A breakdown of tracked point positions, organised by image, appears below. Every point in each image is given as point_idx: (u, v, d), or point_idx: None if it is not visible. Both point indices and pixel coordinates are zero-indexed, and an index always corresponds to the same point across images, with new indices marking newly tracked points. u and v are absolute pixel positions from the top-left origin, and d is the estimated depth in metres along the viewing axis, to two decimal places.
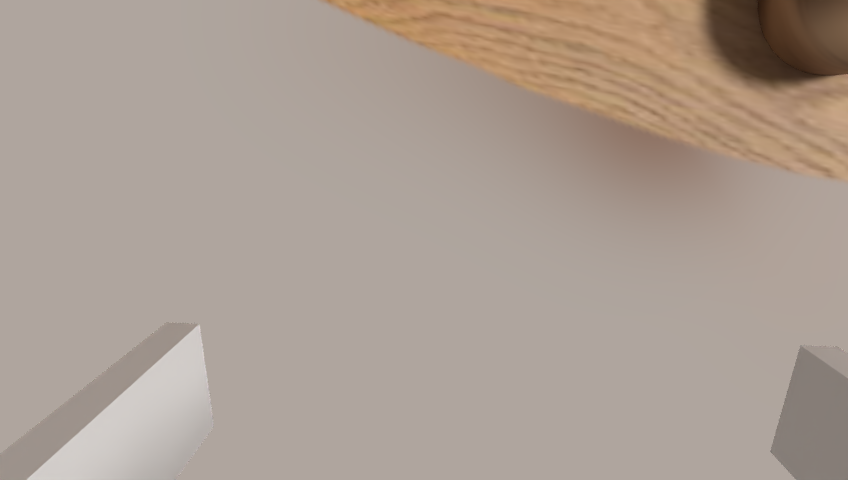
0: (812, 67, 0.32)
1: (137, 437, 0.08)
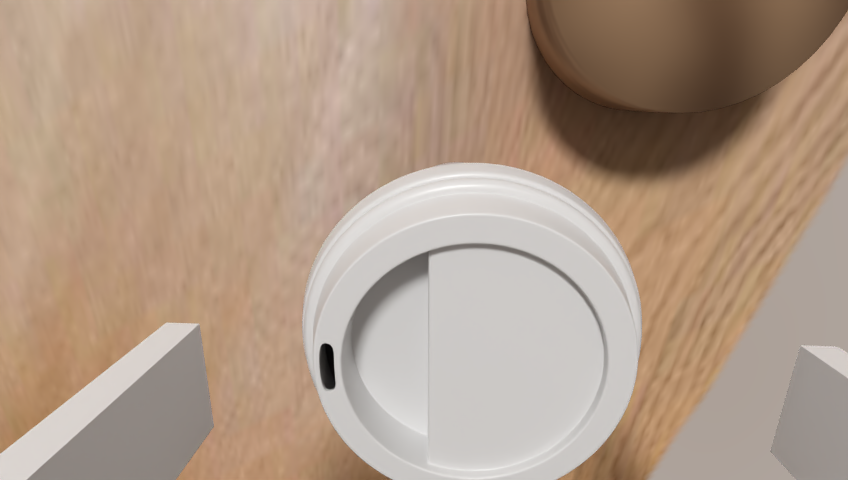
0: None
1: (137, 437, 0.08)
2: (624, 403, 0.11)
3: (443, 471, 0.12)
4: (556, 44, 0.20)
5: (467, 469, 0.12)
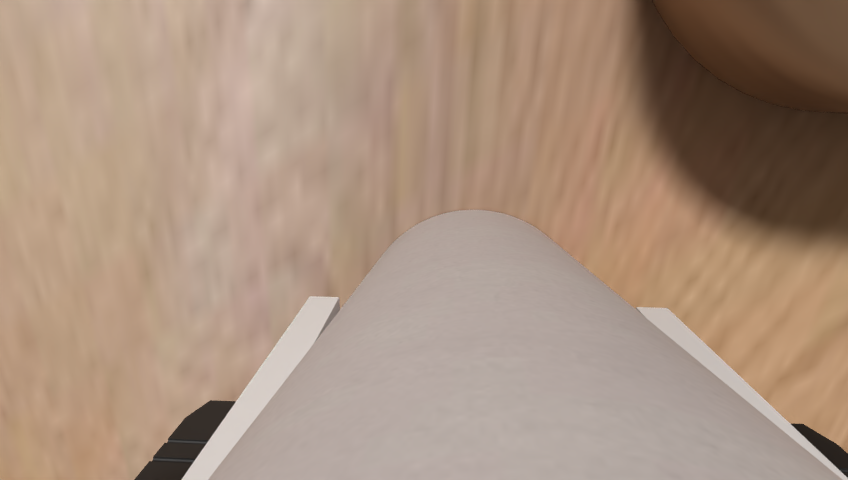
0: None
1: None
2: None
3: None
4: None
5: None
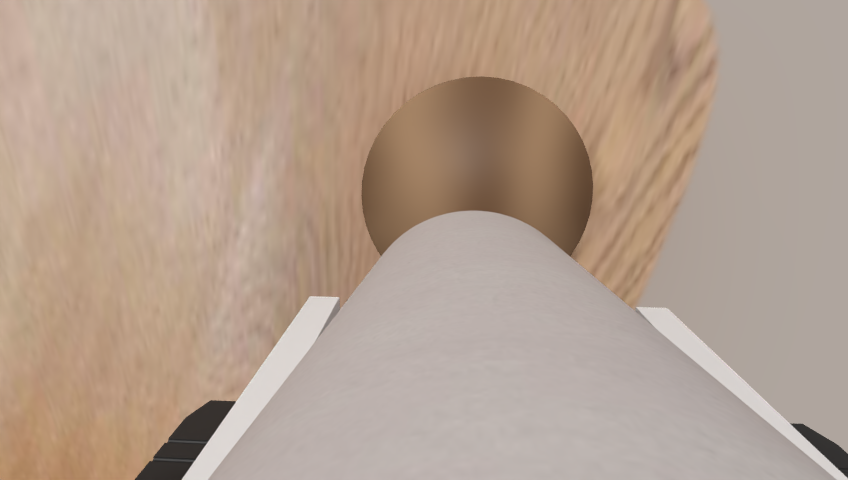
0: None
1: None
2: None
3: None
4: None
5: None
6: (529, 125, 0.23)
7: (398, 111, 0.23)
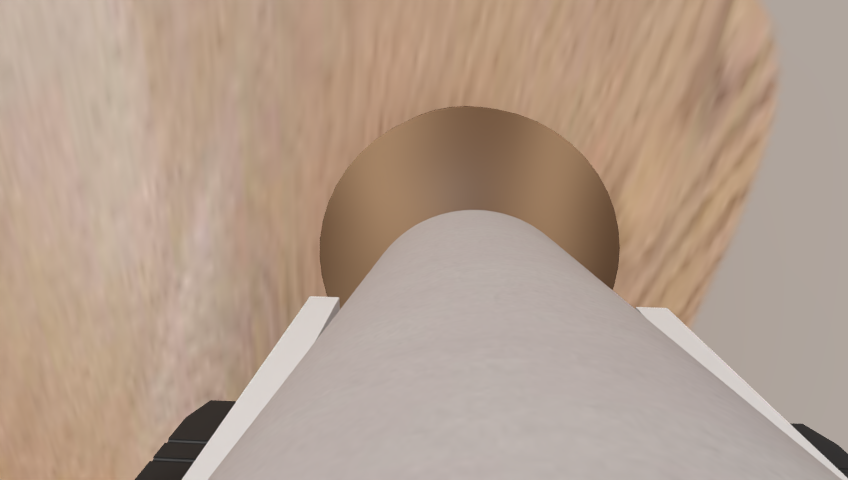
0: None
1: None
2: None
3: None
4: None
5: None
6: (537, 170, 0.17)
7: (365, 151, 0.17)
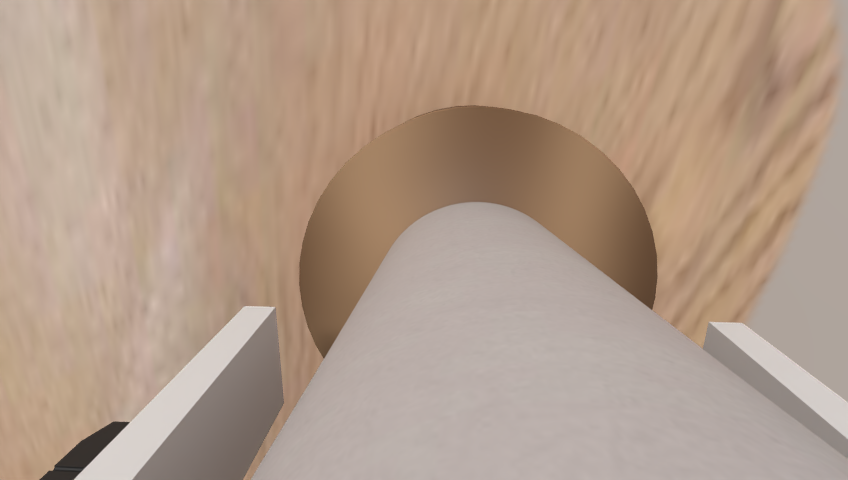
0: None
1: (236, 406, 0.09)
2: None
3: None
4: None
5: None
6: (560, 184, 0.14)
7: (353, 159, 0.14)
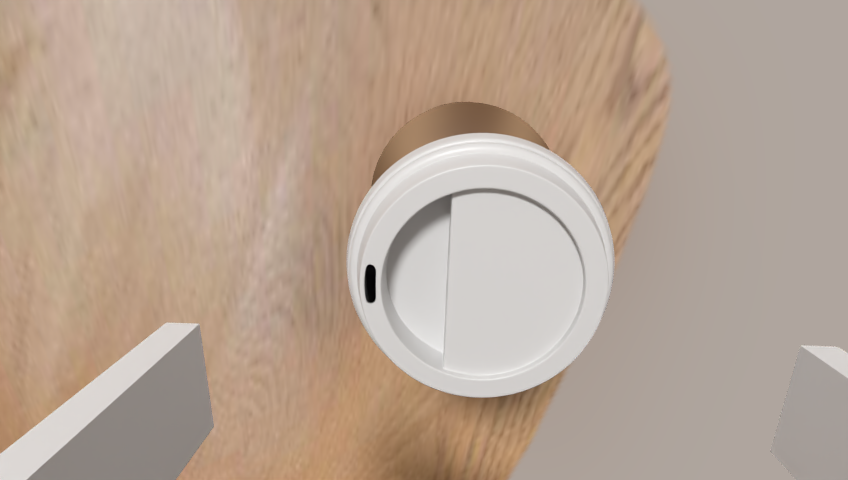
0: None
1: (137, 437, 0.08)
2: (597, 319, 0.15)
3: (455, 374, 0.16)
4: None
5: (474, 373, 0.16)
6: None
7: (402, 128, 0.28)
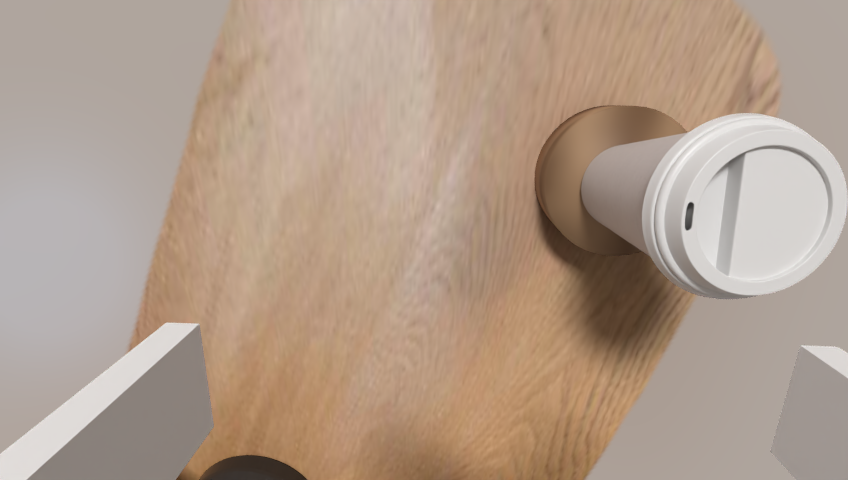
0: None
1: (137, 437, 0.08)
2: (839, 232, 0.22)
3: (739, 279, 0.22)
4: (549, 216, 0.39)
5: (751, 278, 0.22)
6: None
7: (578, 126, 0.35)
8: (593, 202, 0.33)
